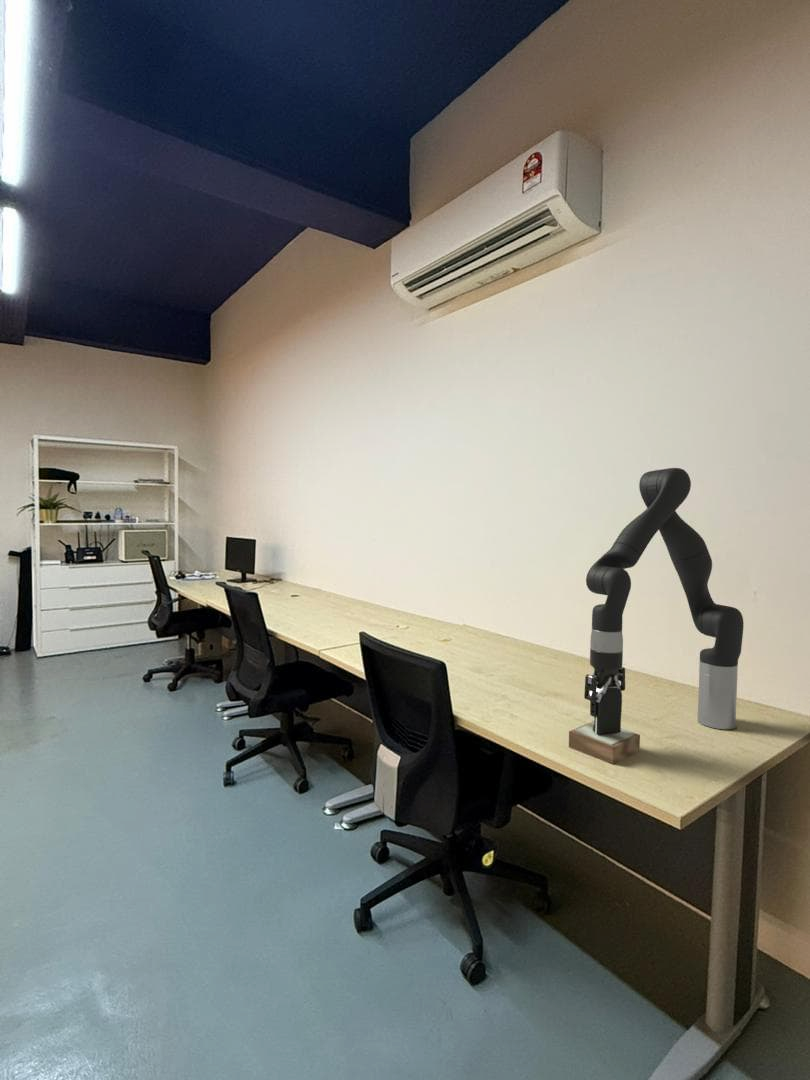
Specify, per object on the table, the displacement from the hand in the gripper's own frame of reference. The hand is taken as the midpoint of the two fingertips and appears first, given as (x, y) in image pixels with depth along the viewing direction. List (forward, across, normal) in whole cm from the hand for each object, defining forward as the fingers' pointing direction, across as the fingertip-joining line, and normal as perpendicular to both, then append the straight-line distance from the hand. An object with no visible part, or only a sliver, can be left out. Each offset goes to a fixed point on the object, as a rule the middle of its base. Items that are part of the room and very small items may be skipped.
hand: (604, 712), depth 136 cm
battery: (+5, 0, 0) cm, 5 cm away
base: (+9, 0, 0) cm, 9 cm away
